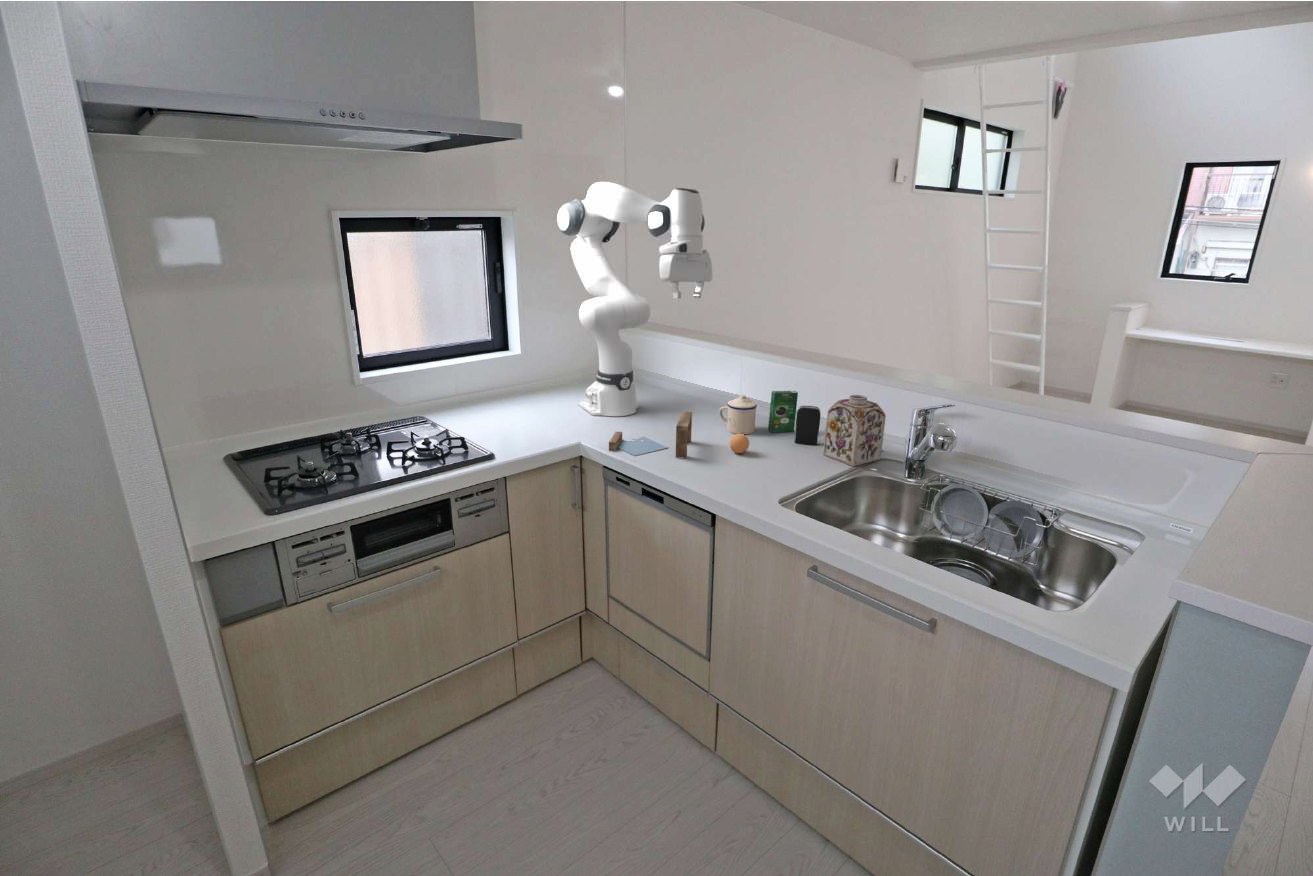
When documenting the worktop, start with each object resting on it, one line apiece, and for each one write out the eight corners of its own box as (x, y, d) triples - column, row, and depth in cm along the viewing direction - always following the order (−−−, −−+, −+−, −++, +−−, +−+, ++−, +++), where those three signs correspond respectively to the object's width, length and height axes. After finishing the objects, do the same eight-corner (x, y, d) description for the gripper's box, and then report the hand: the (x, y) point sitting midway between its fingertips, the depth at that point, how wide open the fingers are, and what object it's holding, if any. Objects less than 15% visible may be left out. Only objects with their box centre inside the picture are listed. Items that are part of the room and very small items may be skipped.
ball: (725, 451, 195) (726, 433, 193) (739, 448, 198) (740, 430, 196) (738, 457, 190) (739, 438, 189) (752, 453, 194) (753, 435, 192)
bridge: (675, 457, 190) (676, 425, 187) (681, 440, 203) (682, 411, 200) (686, 458, 189) (687, 426, 186) (691, 441, 203) (692, 411, 200)
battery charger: (818, 441, 204) (821, 405, 201) (817, 445, 201) (821, 409, 197) (794, 439, 206) (797, 403, 202) (793, 443, 203) (797, 407, 199)
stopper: (608, 450, 194) (608, 442, 193) (615, 439, 204) (615, 431, 203) (615, 450, 194) (615, 442, 193) (622, 439, 203) (622, 431, 203)
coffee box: (791, 429, 216) (794, 389, 212) (795, 432, 213) (798, 391, 209) (767, 430, 214) (770, 390, 210) (770, 433, 212) (773, 392, 207)
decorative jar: (853, 467, 184) (860, 404, 179) (821, 455, 193) (827, 394, 188) (882, 459, 191) (890, 398, 185) (850, 448, 200) (856, 389, 194)
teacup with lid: (758, 429, 216) (761, 393, 212) (749, 437, 208) (752, 400, 204) (723, 423, 221) (725, 389, 217) (713, 431, 213) (714, 395, 209)
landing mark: (611, 444, 199) (611, 444, 199) (644, 437, 206) (644, 436, 206) (634, 456, 190) (634, 455, 190) (668, 448, 197) (668, 447, 197)
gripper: (700, 250, 200) (700, 297, 203) (655, 247, 185) (656, 298, 188) (717, 248, 196) (717, 297, 199) (673, 245, 181) (673, 298, 184)
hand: (687, 298), depth 193 cm, fingers open, 8 cm apart
